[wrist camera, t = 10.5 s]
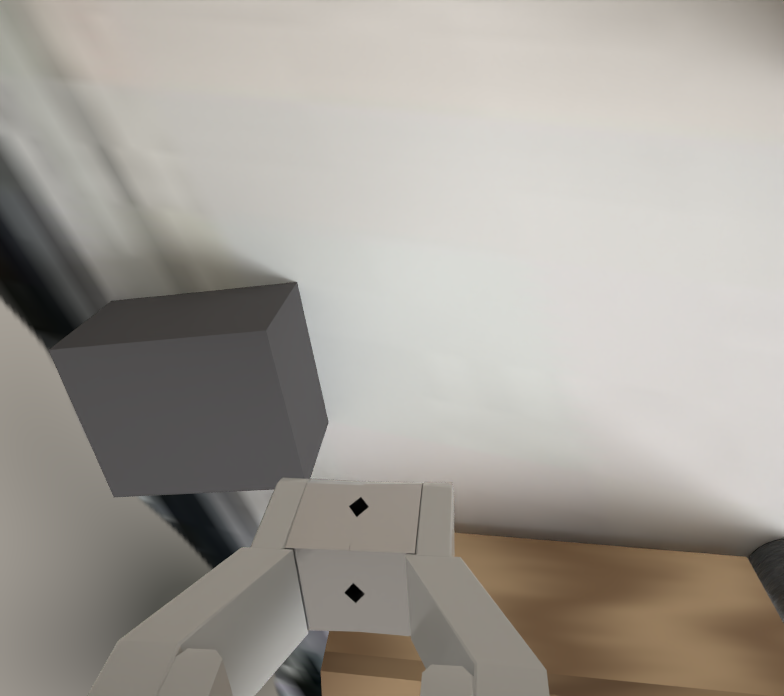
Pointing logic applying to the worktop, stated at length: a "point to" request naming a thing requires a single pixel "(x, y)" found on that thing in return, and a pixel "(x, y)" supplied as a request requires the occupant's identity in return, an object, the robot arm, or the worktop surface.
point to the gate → (599, 623)
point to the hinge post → (771, 572)
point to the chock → (197, 390)
